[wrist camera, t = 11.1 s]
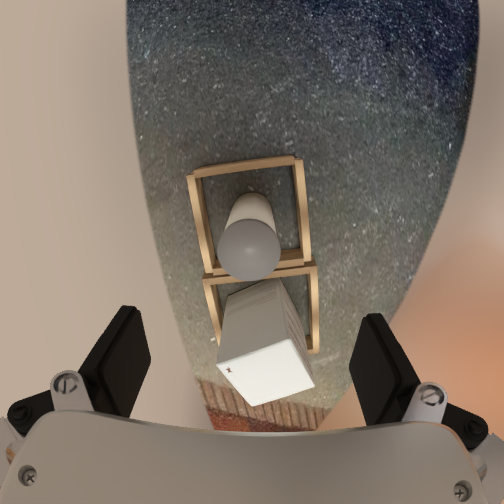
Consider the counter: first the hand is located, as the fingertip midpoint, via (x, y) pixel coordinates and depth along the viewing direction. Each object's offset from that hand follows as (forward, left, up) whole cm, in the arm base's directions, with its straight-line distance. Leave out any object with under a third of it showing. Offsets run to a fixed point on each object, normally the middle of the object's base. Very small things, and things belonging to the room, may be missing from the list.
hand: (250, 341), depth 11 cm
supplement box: (+13, +2, -23) cm, 26 cm away
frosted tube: (0, 0, -22) cm, 22 cm away
